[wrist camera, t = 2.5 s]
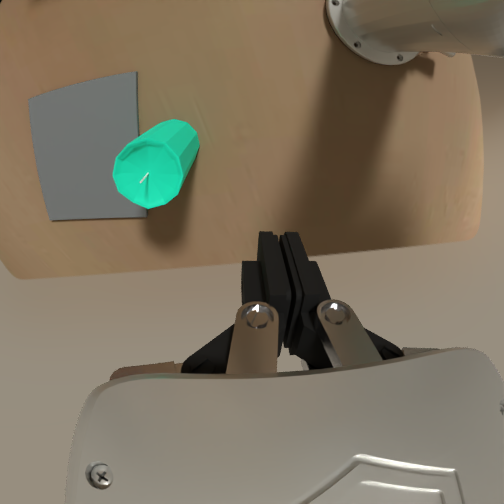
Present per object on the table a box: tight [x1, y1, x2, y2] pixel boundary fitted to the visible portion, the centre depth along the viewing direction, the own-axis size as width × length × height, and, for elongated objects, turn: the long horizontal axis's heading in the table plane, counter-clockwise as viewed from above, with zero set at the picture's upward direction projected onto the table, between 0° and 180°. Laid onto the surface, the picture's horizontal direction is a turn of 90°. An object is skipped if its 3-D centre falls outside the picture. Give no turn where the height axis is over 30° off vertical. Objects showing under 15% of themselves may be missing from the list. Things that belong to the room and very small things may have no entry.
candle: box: [112, 119, 200, 209], centre depth 24 cm, size 6×6×12 cm
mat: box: [28, 72, 148, 220], centre depth 28 cm, size 16×18×1 cm
